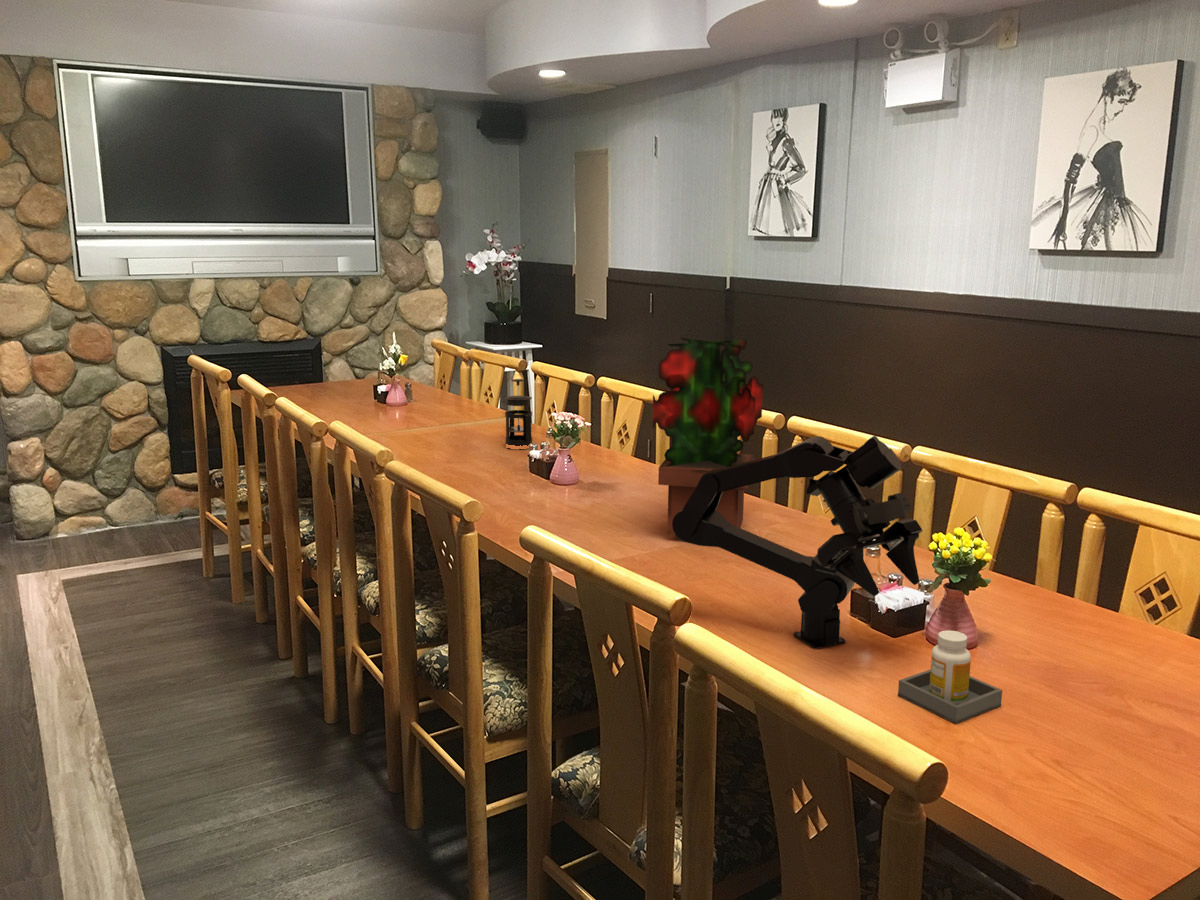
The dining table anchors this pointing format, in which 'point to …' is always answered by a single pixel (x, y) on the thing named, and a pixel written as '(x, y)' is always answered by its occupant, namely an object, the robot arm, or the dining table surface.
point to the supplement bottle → (950, 667)
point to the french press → (512, 414)
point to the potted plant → (705, 419)
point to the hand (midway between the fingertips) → (897, 589)
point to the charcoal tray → (977, 703)
